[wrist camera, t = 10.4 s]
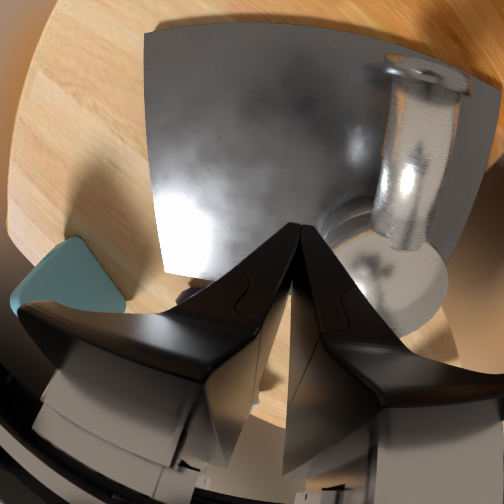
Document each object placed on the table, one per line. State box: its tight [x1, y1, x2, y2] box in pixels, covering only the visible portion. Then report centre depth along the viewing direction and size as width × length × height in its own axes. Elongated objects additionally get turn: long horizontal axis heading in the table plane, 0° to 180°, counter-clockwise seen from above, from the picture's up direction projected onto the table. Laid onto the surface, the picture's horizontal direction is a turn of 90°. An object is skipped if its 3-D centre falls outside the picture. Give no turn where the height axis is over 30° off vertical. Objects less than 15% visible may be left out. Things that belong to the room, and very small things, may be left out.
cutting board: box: [144, 23, 502, 295], centre depth 18 cm, size 26×22×4 cm
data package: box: [10, 237, 126, 317], centre depth 27 cm, size 12×4×12 cm, turn 23°
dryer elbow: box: [324, 53, 473, 338], centre depth 14 cm, size 18×9×5 cm, turn 0°
